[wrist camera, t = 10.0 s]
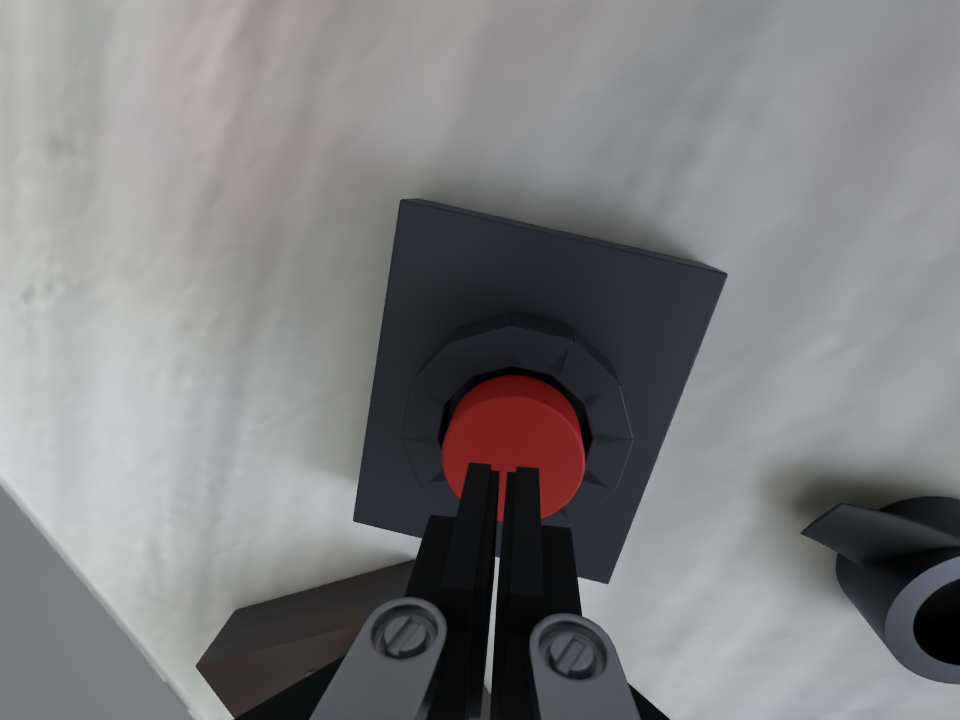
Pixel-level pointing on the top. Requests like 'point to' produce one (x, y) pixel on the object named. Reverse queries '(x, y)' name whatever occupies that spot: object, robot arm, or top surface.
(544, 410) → the button
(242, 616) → the dial panel
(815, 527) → the black wing nut
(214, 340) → the top surface
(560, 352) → the button block
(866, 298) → the top surface
